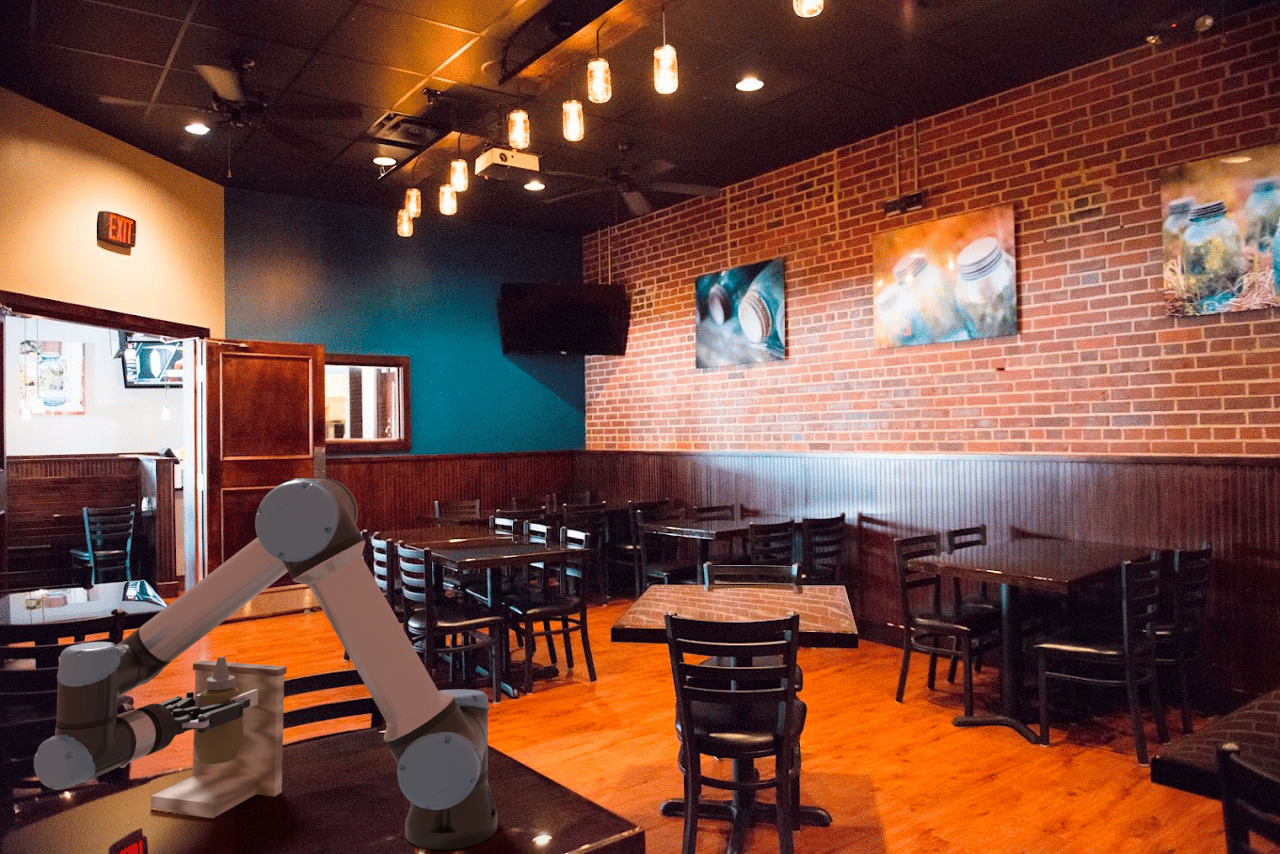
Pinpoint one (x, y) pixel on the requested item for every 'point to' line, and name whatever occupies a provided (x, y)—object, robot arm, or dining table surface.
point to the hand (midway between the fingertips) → (239, 695)
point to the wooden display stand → (255, 758)
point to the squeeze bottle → (228, 736)
